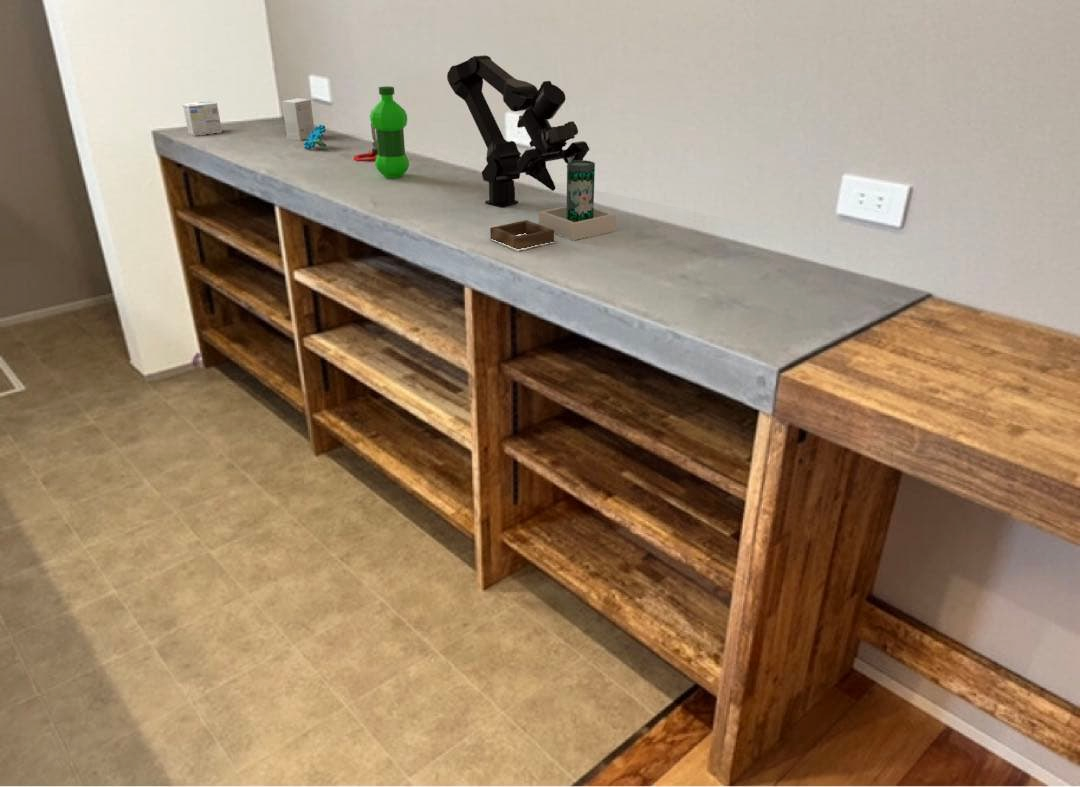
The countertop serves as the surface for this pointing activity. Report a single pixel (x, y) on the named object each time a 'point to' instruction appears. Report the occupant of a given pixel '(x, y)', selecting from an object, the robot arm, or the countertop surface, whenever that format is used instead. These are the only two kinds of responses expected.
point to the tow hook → (373, 153)
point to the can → (580, 190)
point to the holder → (533, 231)
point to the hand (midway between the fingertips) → (569, 186)
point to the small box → (298, 118)
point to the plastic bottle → (389, 135)
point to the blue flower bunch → (315, 138)
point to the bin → (577, 223)
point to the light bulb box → (202, 118)
